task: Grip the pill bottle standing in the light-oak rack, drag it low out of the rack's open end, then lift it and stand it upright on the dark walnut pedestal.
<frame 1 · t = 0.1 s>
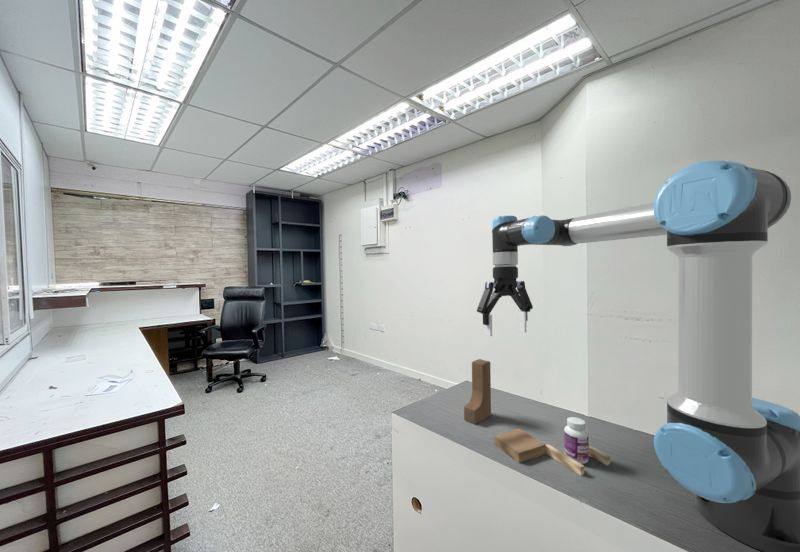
hand: (505, 333, 96), 28 cm above the counter, fingers open, 13 cm apart
wooden block: (477, 418, 100), on the counter
pill bottle: (576, 459, 77), on the counter
rack: (576, 458, 77), on the counter
pedestal: (519, 449, 82), on the counter
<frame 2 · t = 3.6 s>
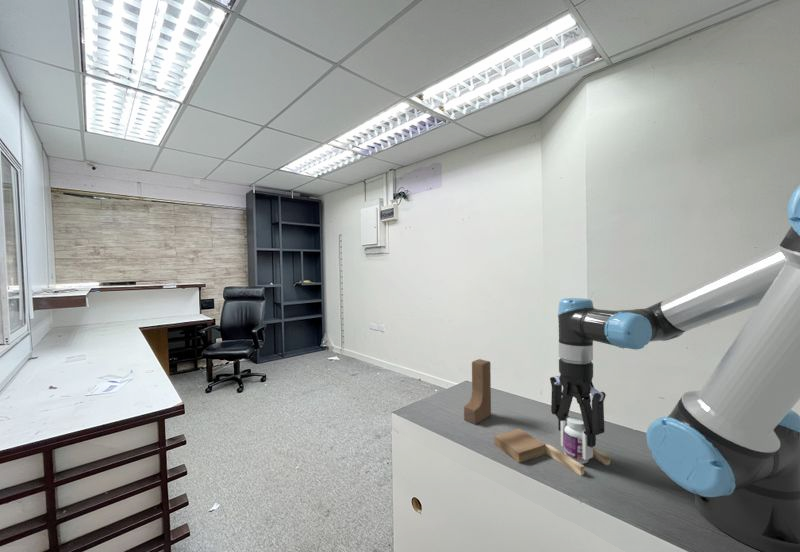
hand: (576, 451, 77), 2 cm above the counter, fingers closed on pill bottle, 5 cm apart
pill bottle: (576, 459, 77), on the counter, touching gripper
everything else where it was.
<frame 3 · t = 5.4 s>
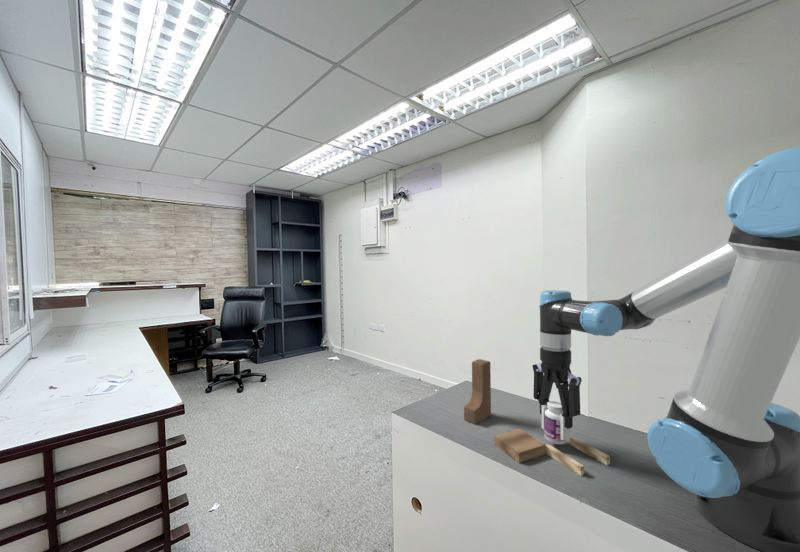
hand: (555, 432, 83), 4 cm above the counter, fingers closed on pill bottle, 5 cm apart
pill bottle: (555, 440, 83), point 2 cm above the counter, touching gripper
everything else where it was.
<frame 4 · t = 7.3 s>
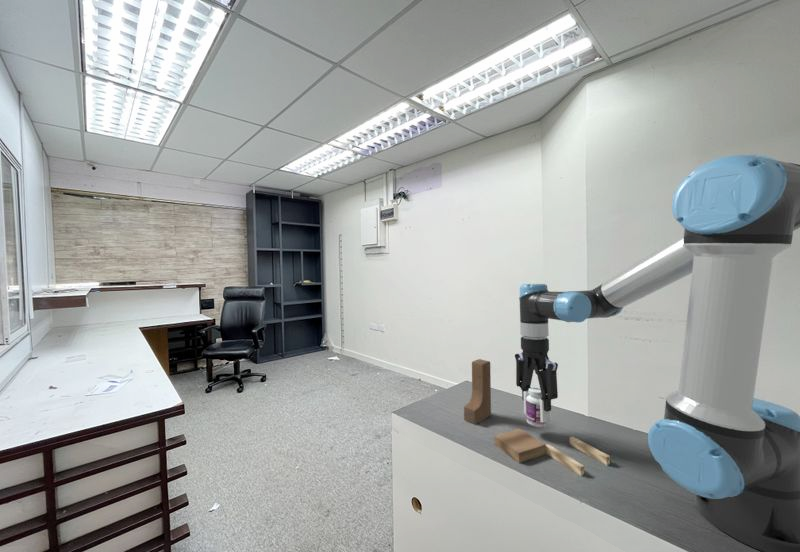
hand: (536, 416, 89), 5 cm above the counter, fingers closed on pill bottle, 5 cm apart
pill bottle: (536, 423, 89), point 3 cm above the counter, touching gripper
everything else where it was.
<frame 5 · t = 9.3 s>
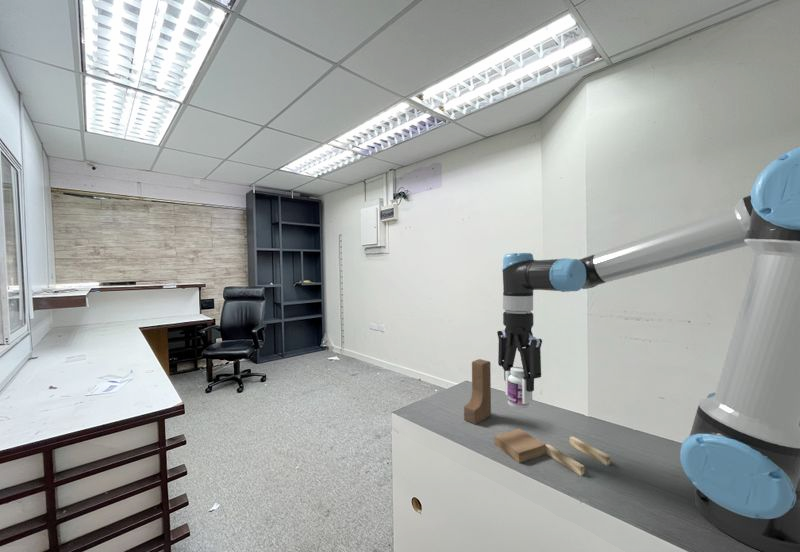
hand: (518, 398, 82), 14 cm above the counter, fingers closed on pill bottle, 5 cm apart
pill bottle: (518, 405, 82), point 12 cm above the counter, touching gripper
everything else where it was.
when the fingers open (5 cm above the counter, at t = 11.0 s): pill bottle stays where it is, resting on pedestal.
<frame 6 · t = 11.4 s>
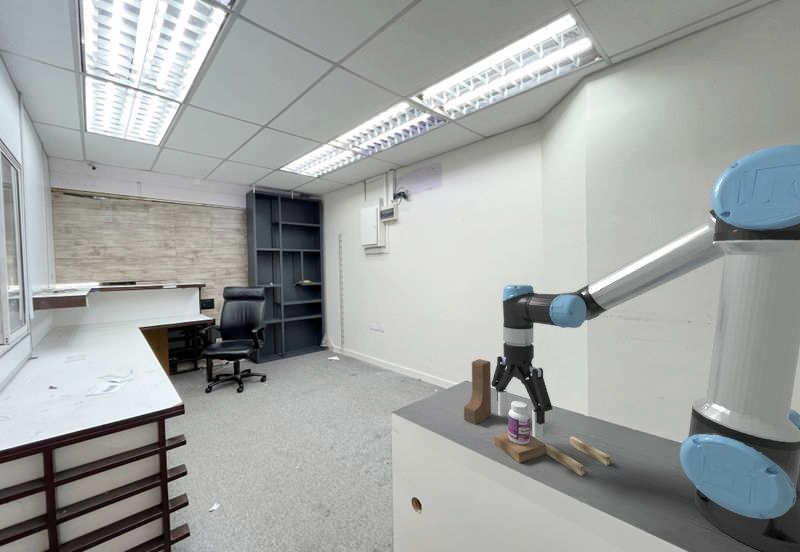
hand: (519, 424, 82), 7 cm above the counter, fingers open, 11 cm apart
pill bottle: (519, 440, 82), point 2 cm above the counter, touching pedestal
everything else where it was.
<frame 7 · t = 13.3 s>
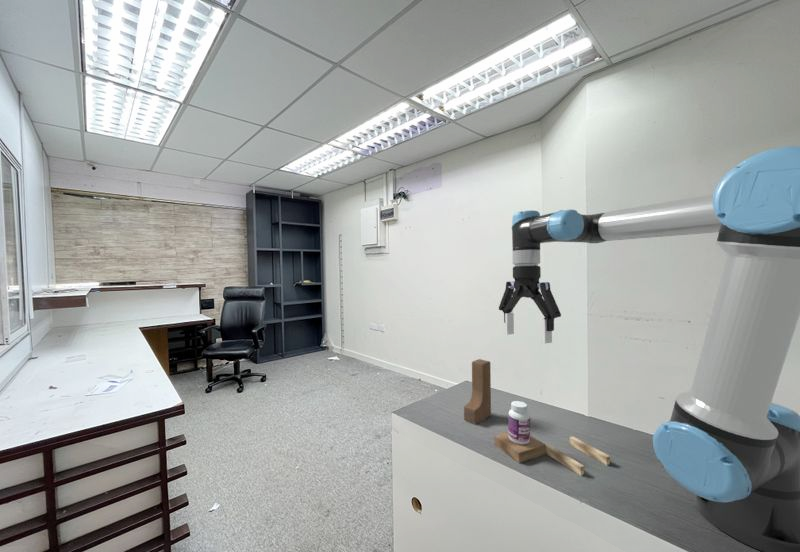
hand: (527, 338, 89), 28 cm above the counter, fingers open, 13 cm apart
nothing on the counter moved.
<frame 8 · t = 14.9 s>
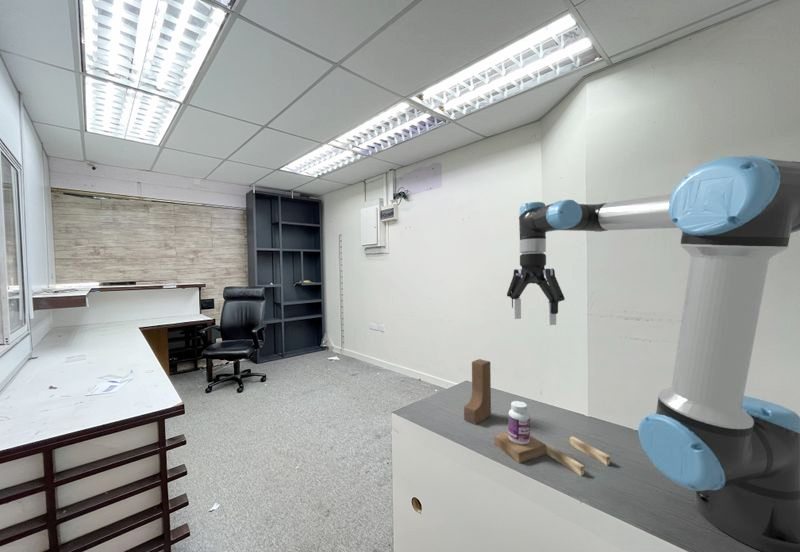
hand: (533, 321, 96), 32 cm above the counter, fingers open, 13 cm apart
nothing on the counter moved.
at the end: pill bottle inside the target area on the pedestal (0.0 cm from its centre), point 2.3 cm above the pedestal's base; pill bottle tilted 0°; the gripper is holding nothing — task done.
